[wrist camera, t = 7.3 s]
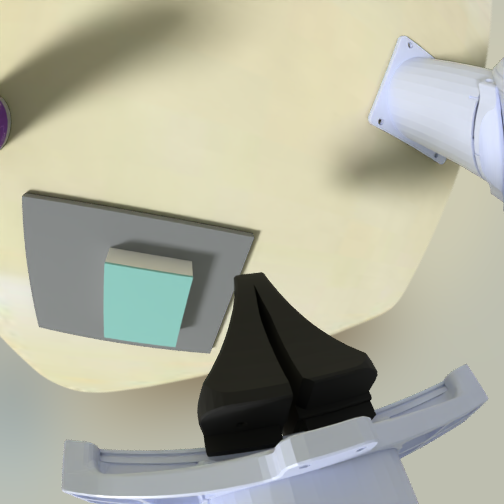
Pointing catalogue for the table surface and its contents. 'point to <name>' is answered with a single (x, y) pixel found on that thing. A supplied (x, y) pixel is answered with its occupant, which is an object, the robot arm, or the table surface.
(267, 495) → the robot arm
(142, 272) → the tile
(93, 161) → the table surface
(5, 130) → the container
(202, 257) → the mat
